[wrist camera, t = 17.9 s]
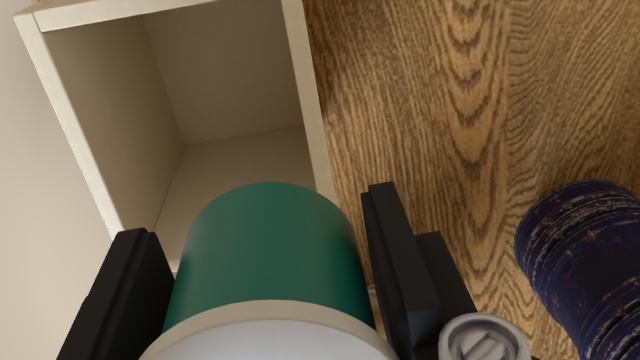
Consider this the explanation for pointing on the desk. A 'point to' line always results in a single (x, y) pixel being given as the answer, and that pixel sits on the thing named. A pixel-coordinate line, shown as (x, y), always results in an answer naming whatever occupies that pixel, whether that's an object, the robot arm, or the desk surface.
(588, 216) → the blue oil drum
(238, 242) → the coffee pod
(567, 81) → the desk surface
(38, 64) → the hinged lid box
